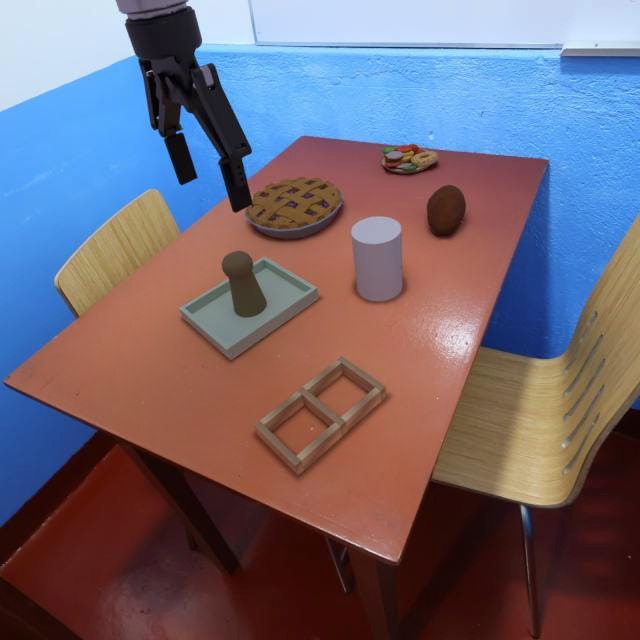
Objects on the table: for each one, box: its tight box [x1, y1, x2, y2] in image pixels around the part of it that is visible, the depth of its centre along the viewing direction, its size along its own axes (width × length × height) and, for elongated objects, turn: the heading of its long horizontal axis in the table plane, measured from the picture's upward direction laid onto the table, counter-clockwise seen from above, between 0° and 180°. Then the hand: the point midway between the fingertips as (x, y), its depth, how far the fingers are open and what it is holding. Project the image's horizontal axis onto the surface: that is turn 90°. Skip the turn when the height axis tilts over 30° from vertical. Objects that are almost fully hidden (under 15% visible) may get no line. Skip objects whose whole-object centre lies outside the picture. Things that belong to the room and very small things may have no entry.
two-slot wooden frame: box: [253, 355, 387, 477], centre depth 65 cm, size 17×9×2 cm, turn 133°
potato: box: [426, 184, 467, 236], centre depth 94 cm, size 8×12×8 cm, turn 160°
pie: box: [244, 176, 344, 240], centre depth 105 cm, size 22×22×5 cm
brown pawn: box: [221, 250, 267, 317], centre depth 81 cm, size 6×6×11 cm
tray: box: [178, 256, 320, 361], centre depth 84 cm, size 20×16×3 cm
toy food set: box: [381, 143, 440, 175], centre depth 117 cm, size 13×13×3 cm
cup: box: [350, 215, 403, 302], centre depth 81 cm, size 8×8×12 cm
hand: (214, 193), depth 64 cm, fingers open, 13 cm apart
